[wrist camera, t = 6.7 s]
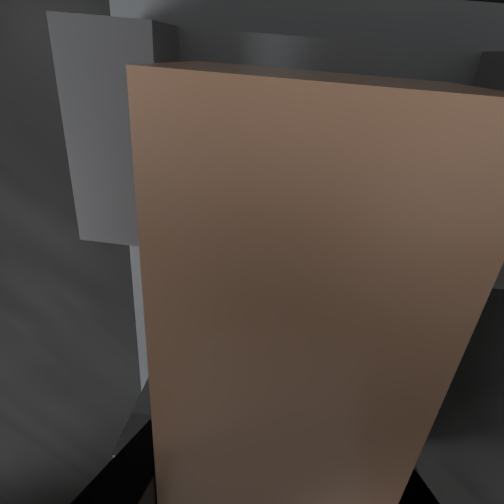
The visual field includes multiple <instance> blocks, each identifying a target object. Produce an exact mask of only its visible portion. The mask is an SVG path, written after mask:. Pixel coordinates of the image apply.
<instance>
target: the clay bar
mask: <svg viewBox="0 0 504 504" xmlns="http://www.w3.org/2000/svg"><path fill="white" fill-rule="evenodd" d="M126 73H127V87H128V101H129V115H130V129H131V142H132V156H133V170H134V184H135V198H136V212H137V226H138V239H139V253H140V267H141V281H142V295H143V309H144V323H145V337H146V350H147V364H148V378H149V392H150V406H151V420H152V434H153V447H154V461H155V475H156V489H157V503H158V504H399V501H400V499H401V497H402V494H403V492H404V490H405V487H406V485H407V483H408V481H409V478H410V476H411V474H412V471H413V469H414V467H415V465H416V462H417V460H418V458H419V455H420V453H421V451H422V448H423V446H424V444H425V442H426V439H427V437H428V435H429V432H430V430H431V428H432V425H433V423H434V421H435V419H436V416H437V414H438V412H439V409H440V407H441V405H442V403H443V400H444V398H445V396H446V393H447V391H448V389H449V386H450V384H451V382H452V380H453V377H454V375H455V373H456V370H457V368H458V366H459V364H460V361H461V359H462V357H463V354H464V352H465V350H466V347H467V345H468V343H469V341H470V338H471V336H472V334H473V331H474V329H475V327H476V324H477V322H478V320H479V318H480V315H481V313H482V311H483V308H484V306H485V304H486V302H487V299H488V297H489V295H490V292H491V290H492V288H493V285H494V283H495V281H496V279H497V276H498V274H499V272H500V269H501V267H502V265H503V263H504V91H499V90H493V89H487V88H481V87H475V86H470V85H464V84H458V83H452V82H442V81H430V80H419V79H407V78H395V77H383V76H372V75H360V74H348V73H336V72H324V71H313V70H301V69H289V68H277V67H266V66H254V65H242V64H230V63H219V62H207V61H185V62H165V63H145V64H126Z"/></svg>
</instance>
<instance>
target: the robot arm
mask: <svg viewBox="0 0 504 504" xmlns="http://www.w3.org/2000/svg"><path fill="white" fill-rule="evenodd" d="M70 504H158V503H157V489H156V475H155V461H154V447H153V434H152V420H151V419H150V420H149V421H148V422H147V423H146V424H145V425H144V426H143V427H142V428H141V429H140V430H139V431H138V432H137V433H136V435H135V436H134V437H133V438H132V439H131V440H130V441H129V442H128V443H127V444H126V445H125V446H124V447H123V448H122V449H121V450H120V451H119V453H118V454H117V455H116V456H115V457H114V458H113V459H112V460H111V461H110V462H109V463H108V464H107V465H106V466H105V467H104V468H103V470H102V471H101V472H100V473H99V474H98V475H97V476H96V477H95V478H94V479H93V480H92V481H91V482H90V483H89V484H88V485H87V486H86V488H85V489H84V490H83V491H82V492H81V493H80V494H79V495H78V496H77V497H76V498H75V499H74V500H73V501H72V502H71V503H70ZM399 504H440V503H439V502H438V501H437V499H436V498H435V496H434V495H433V494H432V492H431V491H430V489H429V488H428V486H427V485H426V484H425V482H424V481H423V479H422V478H421V477H420V475H419V474H418V472H417V471H416V470H415V468H414V469H413V471H412V474H411V476H410V478H409V481H408V483H407V485H406V487H405V490H404V492H403V494H402V497H401V499H400V501H399Z"/></svg>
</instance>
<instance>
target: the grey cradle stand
mask: <svg viewBox="0 0 504 504" xmlns="http://www.w3.org/2000/svg"><path fill="white" fill-rule="evenodd" d="M109 2H110V14H111V16H102V15H90V14H78V13H66V12H54V11H46V14H47V21H48V27H49V34H50V41H51V47H52V54H53V61H54V68H55V74H56V81H57V88H58V94H59V101H60V108H61V115H62V121H63V128H64V135H65V141H66V148H67V155H68V162H69V168H70V175H71V182H72V188H73V195H74V202H75V209H76V215H77V222H78V229H79V235H80V240H88V241H97V242H105V243H114V244H122V245H130V257H131V269H132V282H133V294H134V306H135V318H136V330H137V342H138V354H139V367H140V379H141V391H142V392H141V394H140V396H139V398H138V400H137V402H136V405H135V407H134V409H133V411H132V413H131V415H130V418H129V420H128V422H127V424H126V426H125V428H124V431H123V433H122V435H121V437H120V439H119V441H118V444H117V446H116V448H115V450H114V452H113V454H112V457H113V458H114V457H115V456H116V455H117V454H118V453H119V451H120V450H121V449H122V448H123V447H124V446H125V445H126V444H127V443H128V442H129V441H130V440H131V439H132V438H133V437H134V436H135V435H136V433H137V432H138V431H139V430H140V429H141V428H142V427H143V426H144V425H145V424H146V423H147V422H148V421H149V420H150V419H151V406H150V392H149V378H148V364H147V350H146V337H145V323H144V309H143V295H142V281H141V267H140V253H139V239H138V226H137V212H136V198H135V184H134V170H133V156H132V142H131V129H130V115H129V101H128V87H127V73H126V64H145V63H165V62H185V61H207V62H219V63H230V64H242V65H254V66H266V67H277V68H289V69H301V70H313V71H324V72H336V73H348V74H360V75H372V76H383V77H395V78H407V79H419V80H430V81H442V82H452V83H458V84H464V85H470V86H475V87H481V88H487V89H493V90H499V91H504V3H494V2H481V1H468V0H109ZM493 289H501V290H504V263H503V265H502V267H501V269H500V272H499V274H498V276H497V279H496V281H495V283H494V285H493ZM414 468H415V470H416V471H417V468H416V465H415V467H414ZM417 472H418V471H417Z"/></svg>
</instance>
